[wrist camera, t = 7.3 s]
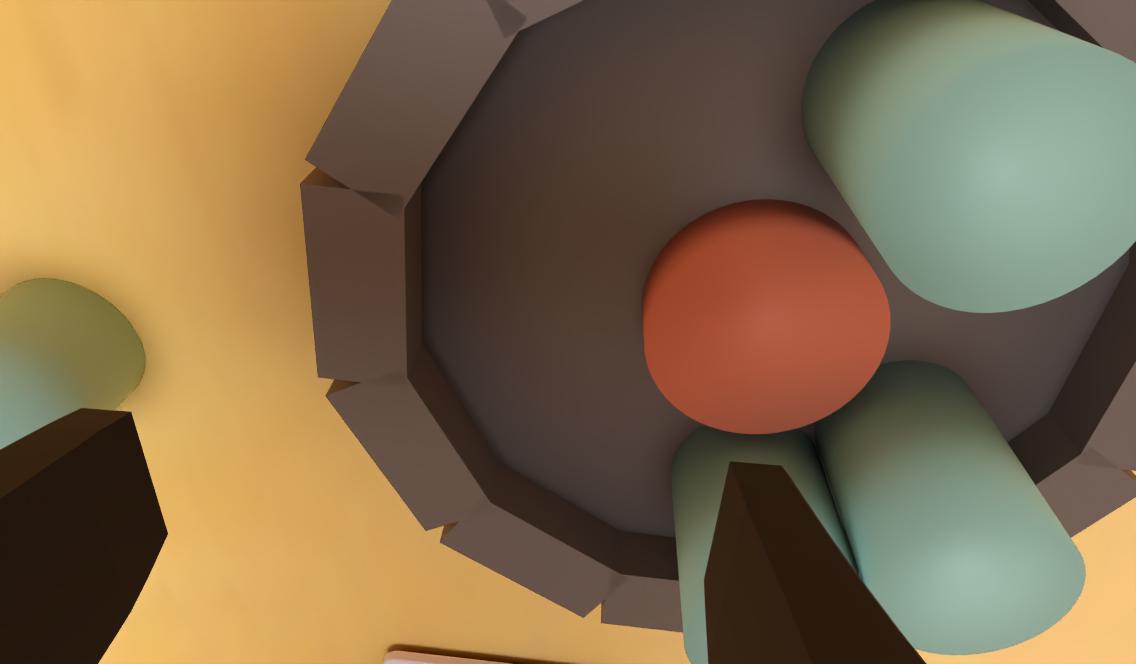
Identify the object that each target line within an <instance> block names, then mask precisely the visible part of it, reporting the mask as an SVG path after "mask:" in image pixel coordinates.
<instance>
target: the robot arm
mask: <svg viewBox="0 0 1136 664" xmlns="http://www.w3.org/2000/svg"><path fill="white" fill-rule="evenodd" d="M167 535H168V532H167V529H166V526H165V522H164V519H163V516H162V512H161V509H160V506H159V503H158V499H157V496H156V493H155V489H154V486H153V483H152V479H151V476H150V473H149V470H148V466H147V463H146V460H145V456H144V453H143V450H142V446H141V443H140V440H139V436H138V433H137V430H136V427H135V423H134V420H133V417H132V413H131V412H126V411H114V410H101V409H89V408H80V409H78V410H76V411H74V412H72V413H70V414H68V415H65V416H63V417H61V418H59V419H57V420H55V421H53V422H51V423H49V424H47V425H45V426H43V427H41V428H40V429H38V430H36V431H34V432H32V433H30V434H28V435H26V436H24V437H23V438H21V439H19V440H17V441H15V442H13V443H11V444H10V445H8V446H6V447H4V448H2V449H0V664H98V663H99V661H100V660H101V658H102V657H103V655H104V653H105V652H106V650H107V649H108V647H109V646H110V644H111V643H112V641H113V639H114V638H115V636H116V635H117V633H118V632H119V630H120V628H121V627H122V625H123V624H124V622H125V620H126V619H127V617H128V615H129V614H130V612H131V610H132V608H133V606H134V605H135V603H136V601H137V599H138V597H139V595H140V593H141V591H142V589H143V587H144V585H145V583H146V581H147V579H148V577H149V574H150V572H151V570H152V568H153V566H154V563H155V561H156V559H157V557H158V555H159V552H160V550H161V548H162V546H163V544H164V541H165V539H166V537H167ZM704 595H705V617H706V635H707V651H708V664H926V663H925V661H924V660H923V659H922V658H921V656H920V655H919V654H918V653H917V651H916V650H915V649H914V648H913V646H912V645H911V644H910V643H909V641H908V640H907V639H906V637H905V636H904V635H903V634H902V632H901V631H900V630H899V629H898V627H897V626H896V625H895V623H894V622H893V621H892V619H891V618H890V617H889V615H888V614H887V613H886V611H885V610H884V609H883V607H882V606H881V605H880V603H879V602H878V601H877V599H876V598H875V597H874V596H873V594H872V593H871V592H870V590H869V589H868V588H867V586H866V585H865V584H864V582H863V581H862V580H861V578H860V577H859V575H858V574H857V573H856V571H855V570H854V569H853V567H852V566H851V564H850V563H849V562H848V560H847V559H846V557H845V556H844V555H843V553H842V552H841V550H840V549H839V547H838V546H837V545H836V543H835V542H834V540H833V539H832V537H831V536H830V535H829V533H828V532H827V530H826V529H825V527H824V526H823V525H822V523H821V522H820V520H819V519H818V517H817V516H816V514H815V513H814V511H813V510H812V508H811V507H810V505H809V504H808V502H807V501H806V499H805V498H804V496H803V495H802V493H801V492H800V491H799V489H798V488H797V486H796V485H795V483H794V482H793V480H792V479H791V477H790V476H789V474H788V473H787V472H786V470H785V469H784V468H783V467H782V466H781V465H769V464H757V463H745V462H733V461H730V462H729V467H728V471H727V476H726V480H725V485H724V489H723V494H722V499H721V503H720V508H719V512H718V517H717V522H716V526H715V531H714V535H713V540H712V544H711V549H710V554H709V558H708V563H707V567H706V572H705V576H704ZM383 664H511V663H503V662H494V661H485V660H476V659H468V658H459V657H450V656H441V655H432V654H424V653H415V652H406V651H392V652H389V653H387V654H386V655H385V658H384V661H383Z"/></svg>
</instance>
